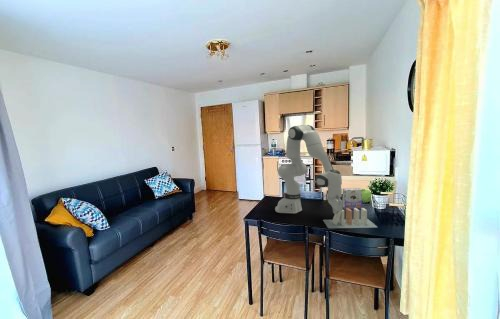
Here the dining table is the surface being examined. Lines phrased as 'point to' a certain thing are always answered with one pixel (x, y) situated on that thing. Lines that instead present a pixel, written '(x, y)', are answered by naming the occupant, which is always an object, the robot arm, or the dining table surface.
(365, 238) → the dining table surface
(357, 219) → the domino
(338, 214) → the domino
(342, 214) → the domino
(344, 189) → the candy box
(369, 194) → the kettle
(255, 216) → the dining table surface
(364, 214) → the domino
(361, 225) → the mat
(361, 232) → the dining table surface
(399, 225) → the dining table surface
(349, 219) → the domino
